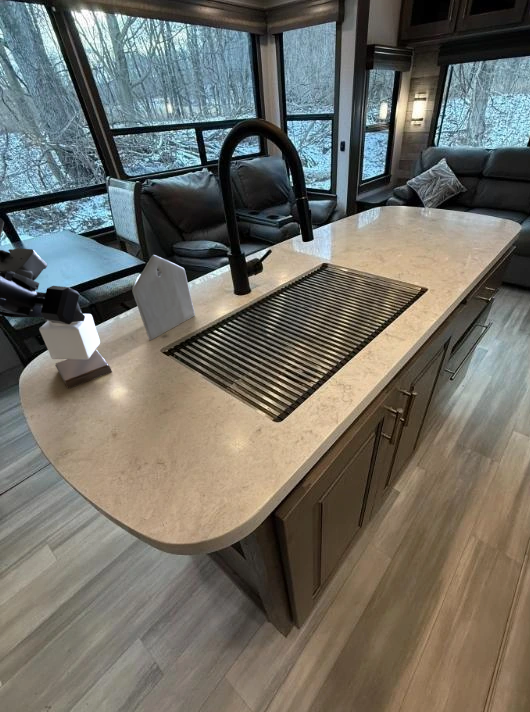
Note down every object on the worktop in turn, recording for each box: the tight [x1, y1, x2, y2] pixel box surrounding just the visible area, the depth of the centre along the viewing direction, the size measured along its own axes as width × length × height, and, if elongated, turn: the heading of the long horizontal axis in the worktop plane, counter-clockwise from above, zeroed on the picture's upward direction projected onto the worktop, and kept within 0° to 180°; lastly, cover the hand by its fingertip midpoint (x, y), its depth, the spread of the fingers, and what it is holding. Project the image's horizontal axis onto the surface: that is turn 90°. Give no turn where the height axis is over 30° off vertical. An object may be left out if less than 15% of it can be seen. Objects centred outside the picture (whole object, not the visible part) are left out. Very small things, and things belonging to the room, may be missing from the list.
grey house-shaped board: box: [131, 254, 196, 341], centre depth 87 cm, size 16×8×19 cm, turn 149°
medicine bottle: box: [38, 301, 101, 360], centre depth 68 cm, size 7×7×12 cm
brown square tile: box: [54, 349, 113, 390], centre depth 75 cm, size 9×9×2 cm
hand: (68, 316), depth 68 cm, fingers closed on medicine bottle, 7 cm apart
